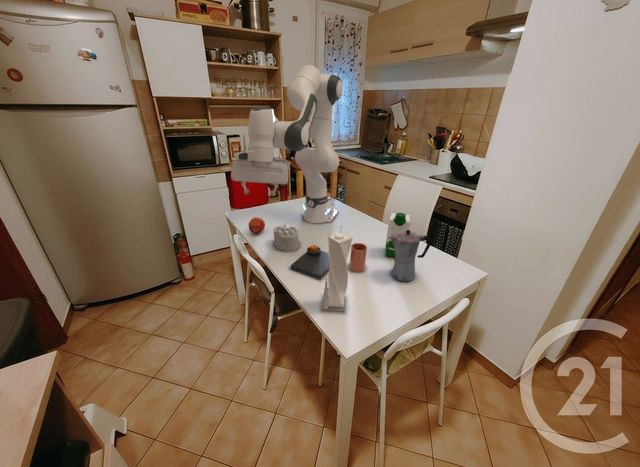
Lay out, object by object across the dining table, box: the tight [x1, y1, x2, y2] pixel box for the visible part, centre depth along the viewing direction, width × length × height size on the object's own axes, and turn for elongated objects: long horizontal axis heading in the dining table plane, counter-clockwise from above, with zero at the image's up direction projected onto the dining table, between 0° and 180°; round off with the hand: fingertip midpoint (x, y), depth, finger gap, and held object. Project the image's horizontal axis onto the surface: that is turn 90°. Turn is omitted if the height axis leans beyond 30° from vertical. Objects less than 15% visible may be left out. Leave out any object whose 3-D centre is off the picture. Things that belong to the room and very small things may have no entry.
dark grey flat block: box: [290, 246, 330, 280], centre depth 110 cm, size 16×14×4 cm
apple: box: [248, 216, 266, 234], centre depth 134 cm, size 8×8×8 cm
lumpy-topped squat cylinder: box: [273, 224, 300, 252], centre depth 123 cm, size 10×13×9 cm
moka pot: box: [389, 229, 433, 282], centre depth 100 cm, size 10×15×20 cm, turn 88°
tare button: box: [309, 244, 318, 252], centre depth 114 cm, size 3×3×2 cm
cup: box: [349, 242, 368, 273], centre depth 106 cm, size 6×6×10 cm
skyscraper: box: [322, 224, 353, 313], centre depth 84 cm, size 8×8×28 cm
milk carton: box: [385, 212, 411, 259], centre depth 114 cm, size 9×9×20 cm
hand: (259, 194), depth 97 cm, fingers open, 8 cm apart
